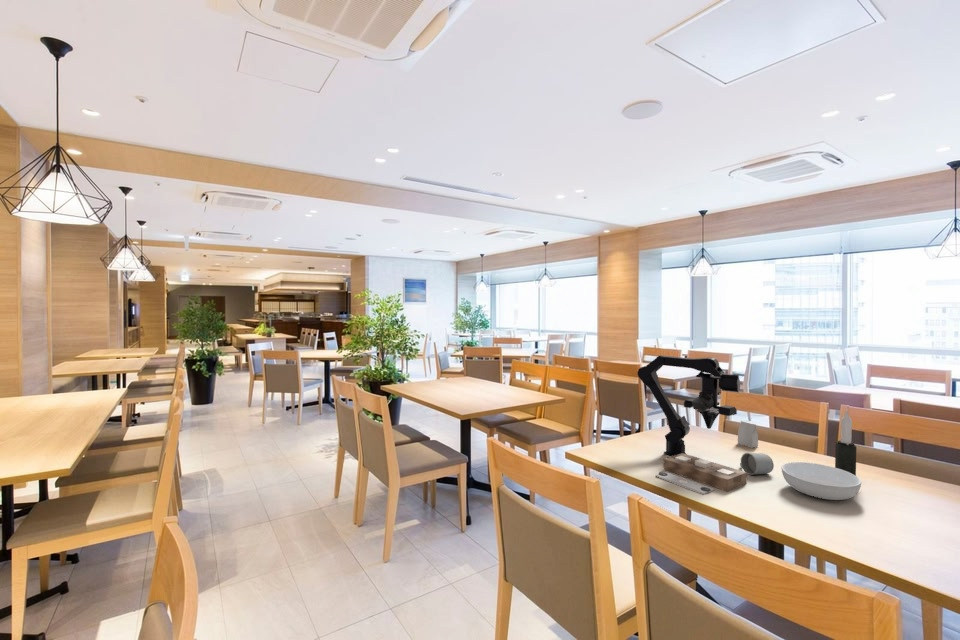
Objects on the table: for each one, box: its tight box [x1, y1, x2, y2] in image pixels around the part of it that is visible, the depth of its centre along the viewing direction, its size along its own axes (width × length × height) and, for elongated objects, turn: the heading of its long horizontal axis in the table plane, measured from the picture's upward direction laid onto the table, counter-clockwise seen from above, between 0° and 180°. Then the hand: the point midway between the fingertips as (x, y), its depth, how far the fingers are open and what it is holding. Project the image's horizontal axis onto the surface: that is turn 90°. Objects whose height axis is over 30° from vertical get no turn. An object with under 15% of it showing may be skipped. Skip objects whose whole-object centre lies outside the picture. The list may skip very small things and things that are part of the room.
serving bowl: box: [781, 461, 862, 501], centre depth 146 cm, size 21×21×7 cm
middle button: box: [695, 458, 713, 469], centre depth 161 cm, size 4×4×3 cm
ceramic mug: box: [739, 452, 775, 476], centre depth 165 cm, size 11×8×8 cm
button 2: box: [717, 469, 735, 476], centre depth 154 cm, size 4×4×3 cm
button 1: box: [675, 456, 691, 462], centre depth 168 cm, size 4×4×3 cm
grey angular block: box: [737, 420, 759, 449], centre depth 197 cm, size 4×7×10 cm, turn 24°
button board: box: [663, 453, 747, 492], centre depth 161 cm, size 24×12×4 cm, turn 32°
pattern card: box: [655, 471, 714, 495], centre depth 155 cm, size 19×6×1 cm, turn 32°
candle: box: [834, 409, 857, 476], centre depth 157 cm, size 5×5×25 cm
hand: (708, 428), depth 176 cm, fingers closed
